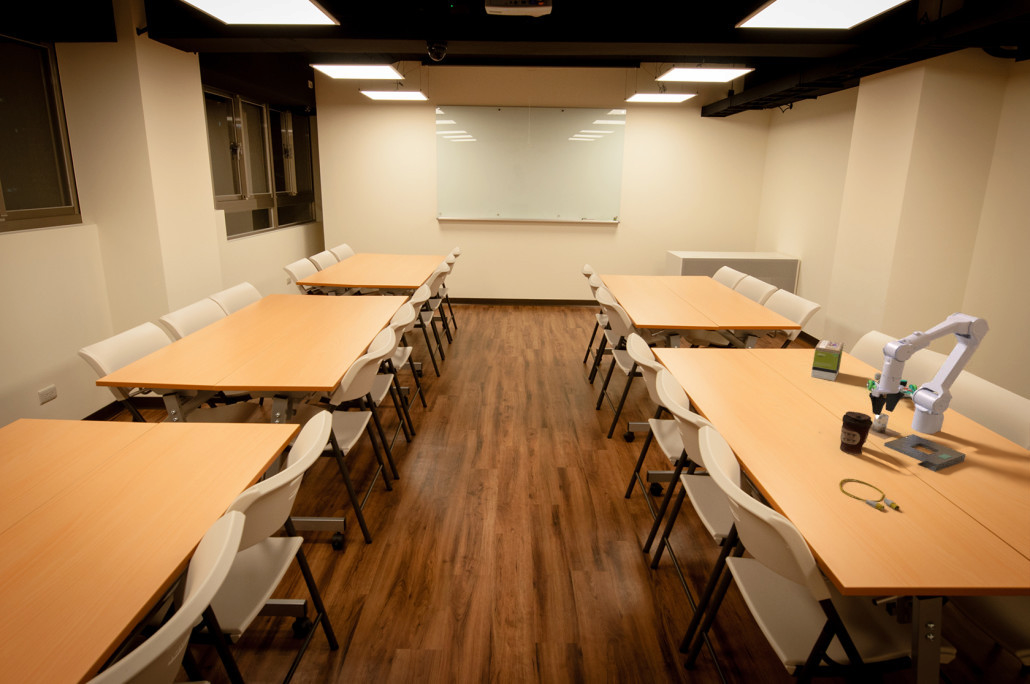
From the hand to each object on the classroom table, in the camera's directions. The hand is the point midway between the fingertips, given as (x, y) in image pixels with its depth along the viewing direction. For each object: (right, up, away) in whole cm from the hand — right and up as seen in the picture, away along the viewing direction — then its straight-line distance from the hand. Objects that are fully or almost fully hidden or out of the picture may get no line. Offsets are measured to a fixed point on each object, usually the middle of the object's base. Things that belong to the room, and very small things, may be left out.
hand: (882, 412), depth 194 cm
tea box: (+15, +9, +63) cm, 65 cm away
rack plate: (+5, -13, -12) cm, 18 cm away
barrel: (0, -7, +2) cm, 7 cm away
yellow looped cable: (-29, -20, -35) cm, 50 cm away
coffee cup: (-17, -12, -10) cm, 23 cm away
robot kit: (+30, +1, +37) cm, 48 cm away
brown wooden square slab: (0, -8, +2) cm, 9 cm away
